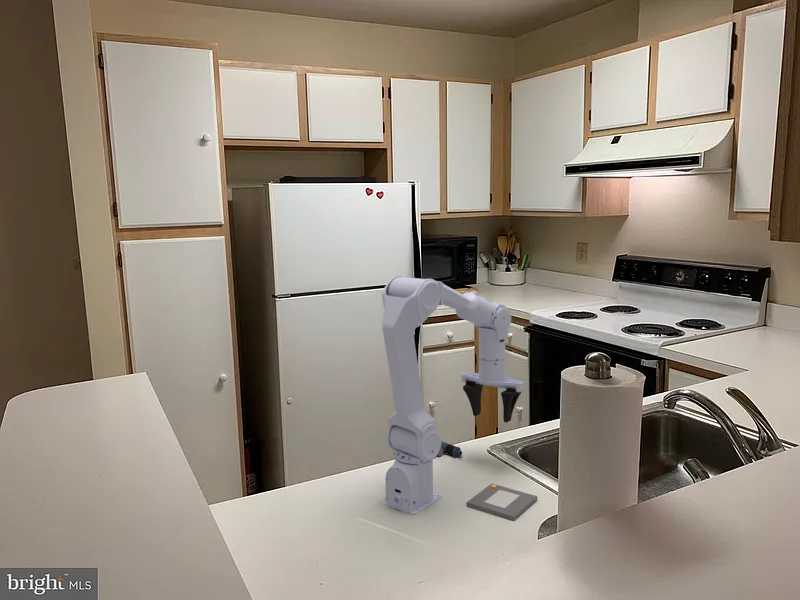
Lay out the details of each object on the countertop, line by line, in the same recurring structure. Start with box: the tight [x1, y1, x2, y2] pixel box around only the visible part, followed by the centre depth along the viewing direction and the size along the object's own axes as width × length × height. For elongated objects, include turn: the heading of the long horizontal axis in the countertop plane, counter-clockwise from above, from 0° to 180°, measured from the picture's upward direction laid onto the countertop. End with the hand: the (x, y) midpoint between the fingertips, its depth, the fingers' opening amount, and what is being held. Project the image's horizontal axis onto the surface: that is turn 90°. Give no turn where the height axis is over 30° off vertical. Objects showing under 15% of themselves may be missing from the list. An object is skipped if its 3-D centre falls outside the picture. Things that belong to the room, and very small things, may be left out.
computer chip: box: [465, 483, 538, 522], centre depth 120 cm, size 10×10×1 cm
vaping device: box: [436, 440, 463, 458], centre depth 145 cm, size 3×5×12 cm
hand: (491, 417), depth 137 cm, fingers open, 7 cm apart
